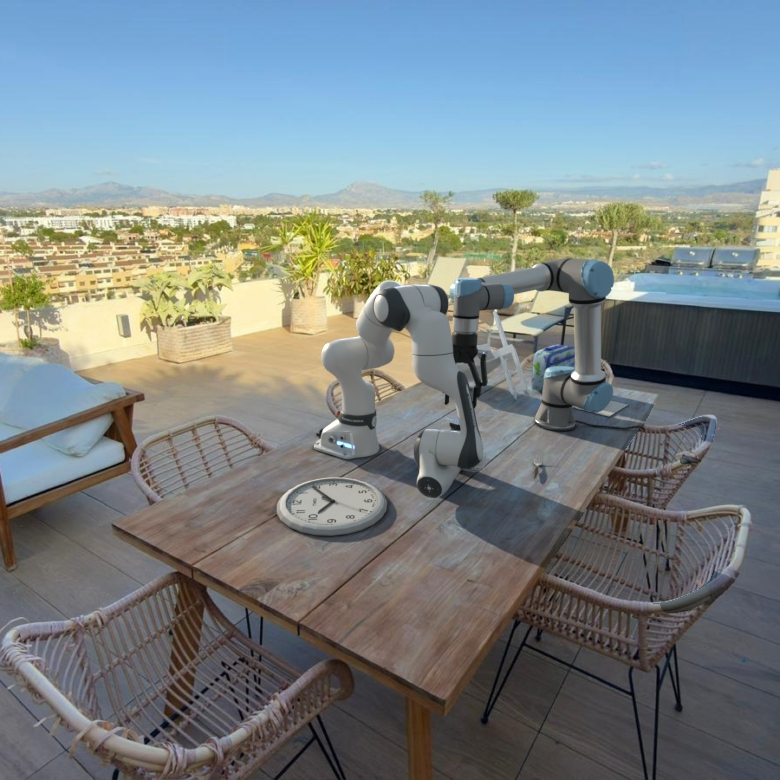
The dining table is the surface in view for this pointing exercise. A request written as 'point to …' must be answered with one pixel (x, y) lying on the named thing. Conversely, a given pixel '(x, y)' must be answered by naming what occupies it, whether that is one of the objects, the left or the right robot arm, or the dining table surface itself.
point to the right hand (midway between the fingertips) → (460, 405)
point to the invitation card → (610, 408)
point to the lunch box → (550, 362)
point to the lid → (455, 423)
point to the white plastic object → (497, 361)
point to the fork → (537, 465)
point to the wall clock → (331, 506)
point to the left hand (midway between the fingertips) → (458, 447)
